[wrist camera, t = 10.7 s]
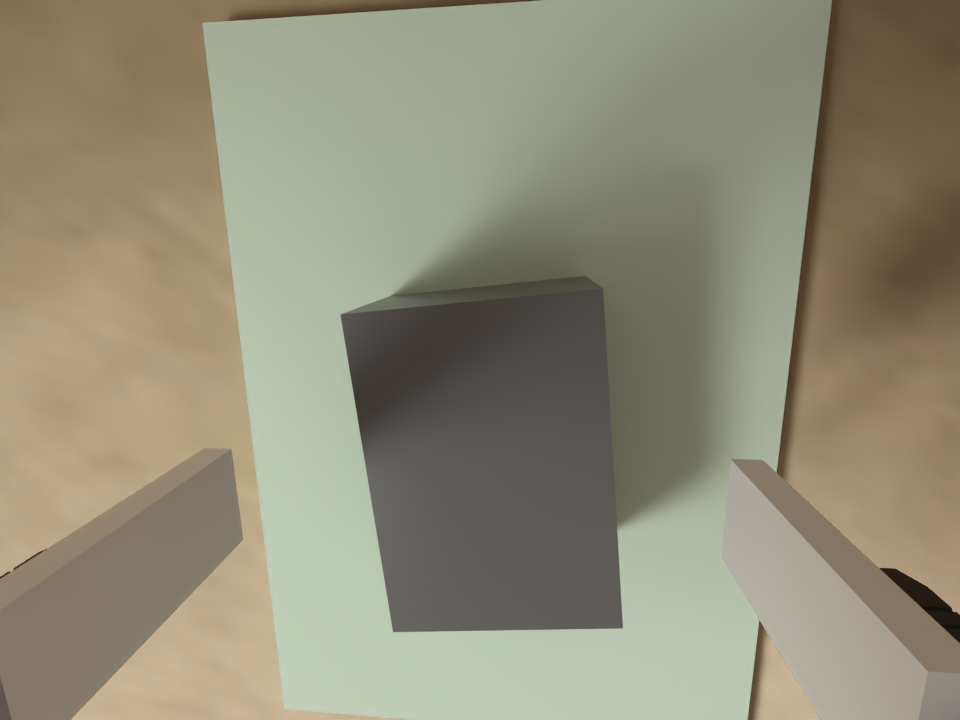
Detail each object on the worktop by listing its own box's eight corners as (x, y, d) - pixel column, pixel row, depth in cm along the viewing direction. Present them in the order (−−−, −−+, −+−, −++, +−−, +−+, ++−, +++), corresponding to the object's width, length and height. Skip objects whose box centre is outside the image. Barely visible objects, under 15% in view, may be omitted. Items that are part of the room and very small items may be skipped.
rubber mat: (292, 694, 25) (284, 709, 24) (216, 32, 18) (202, 22, 18) (737, 729, 22) (744, 747, 22) (820, -7, 16) (834, -20, 15)
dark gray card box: (390, 295, 19) (340, 314, 14) (585, 275, 18) (603, 288, 13) (426, 542, 21) (393, 632, 16) (602, 535, 20) (622, 628, 15)
